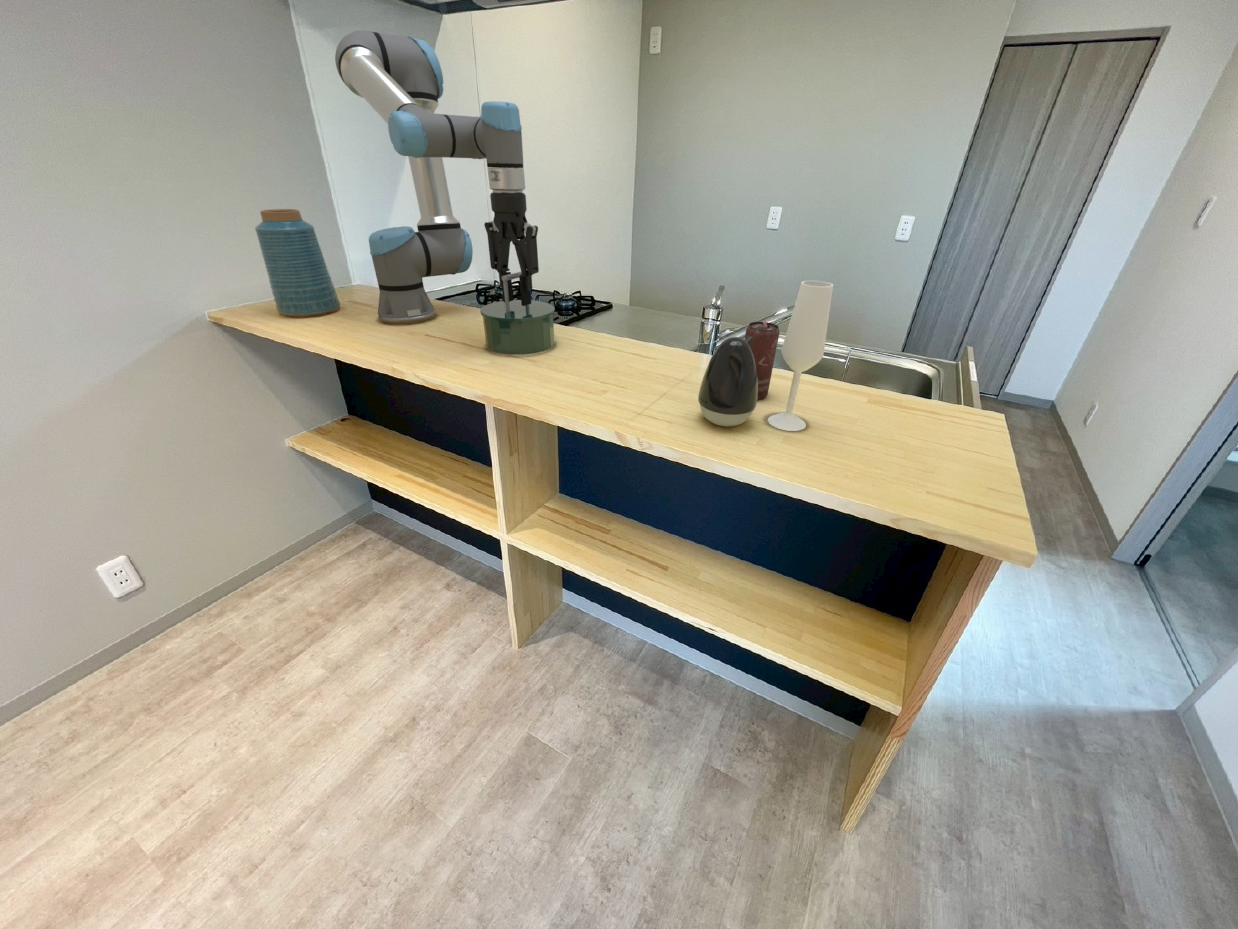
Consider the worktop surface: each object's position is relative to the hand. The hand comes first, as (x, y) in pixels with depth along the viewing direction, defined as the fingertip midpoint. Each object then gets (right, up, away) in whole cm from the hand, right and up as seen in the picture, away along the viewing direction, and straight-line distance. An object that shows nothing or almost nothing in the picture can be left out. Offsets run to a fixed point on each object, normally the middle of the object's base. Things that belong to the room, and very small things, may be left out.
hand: (517, 302), depth 117 cm
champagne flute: (+55, -31, -28) cm, 69 cm away
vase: (-67, +7, +29) cm, 74 cm away
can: (+51, -25, -18) cm, 59 cm away
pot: (0, -9, +5) cm, 10 cm away
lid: (0, -2, +1) cm, 2 cm away
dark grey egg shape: (+44, -31, -28) cm, 60 cm away
